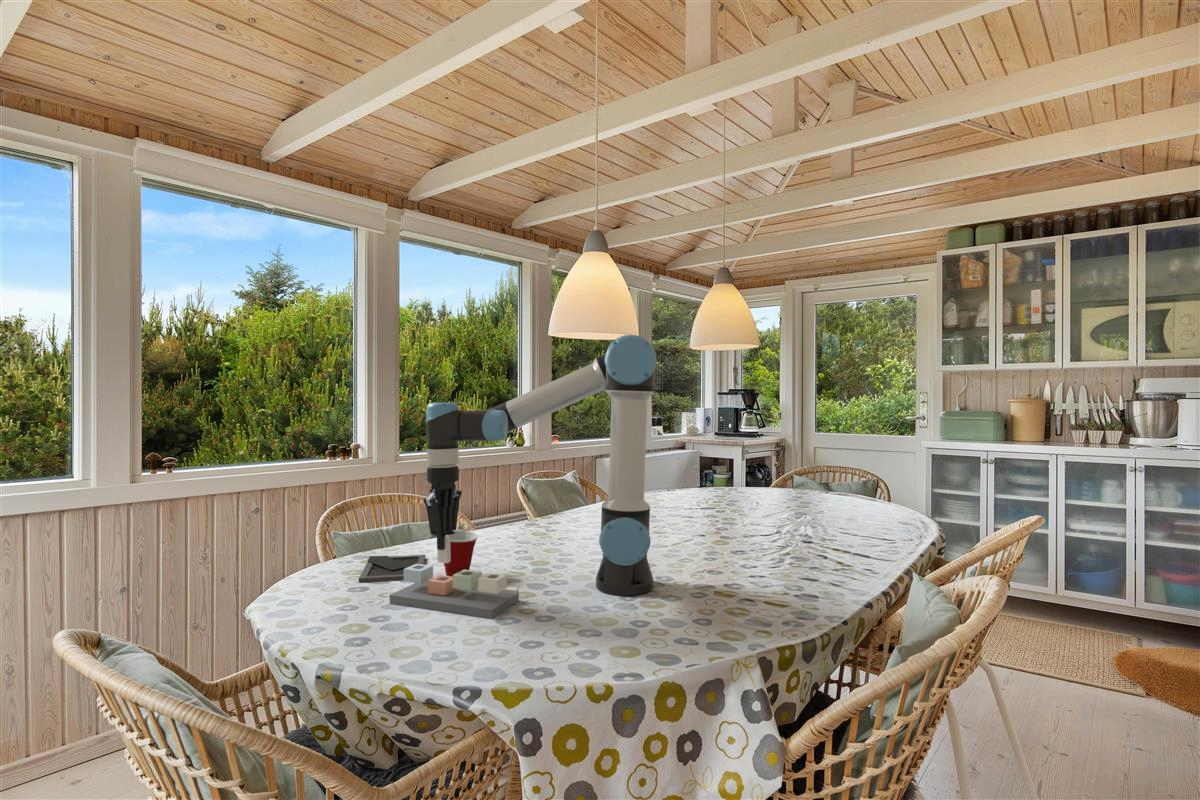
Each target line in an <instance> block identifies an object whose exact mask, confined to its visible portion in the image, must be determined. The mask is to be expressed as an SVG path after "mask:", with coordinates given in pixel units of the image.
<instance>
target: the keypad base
mask: <svg viewBox="0 0 1200 800" xmlns="http://www.w3.org/2000/svg"><path fill="white" fill-rule="evenodd" d="M435 577H436V576H435ZM435 577H434V576H433V578H435ZM433 578H431V579H433ZM429 580H430V579H429ZM519 598H520V588H519V587H512V586H507V588H505V589H504V590H502V591H501V592H499V593H497V594H495V593H488V592H480V591H478V586H477V587H476V588H474V589H472V590H465V589H458V588H457V590H455V591H453V592H451V593H449V594H447V595H446V596H445V595H437V594H430V593H428V580H427V581H425V582H423V583H414V582H413V583H412V584H410V585H408V586H406V587H403V588H402V589H398V590H397V591H395V592H393V593H391V594H389V604H391V603H393V605H398V604H399V605H400V606H404V605H406V606H405V607H411V606H413V607H412V608H418V607H420V608H419V609H424V608H425V609H426V610H431V609H432V610H431V611H437V610H438V611H439V612H444V613H452V614H458V615H464V616H470V617H471V616H473V617H479V618H484V619H485V618H486V619H491V620H492V619H494V618H496V617H497V616H498V615H500V614H501V613H503V612H504V611H506V610H507V609H508V608H510V607H511V606H512V605H514V604H516V603H517V602H518V600H520V599H519ZM515 602H516V603H515ZM502 611H503V612H502ZM499 613H500V614H499Z"/></svg>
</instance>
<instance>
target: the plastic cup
mask: <svg viewBox="0 0 1200 800" xmlns="http://www.w3.org/2000/svg"><path fill="white" fill-rule="evenodd" d="M454 531H455V534H451V546H450V553H451V562H449V563H443V566H444V570H445V576H451V577H453V575H454V574H456V573H458V572H460V571H462V570H470V569H471V565H472V560H473V554H474V549H475V548H474V547H475V545H476V542H477V539H479V535H478V533H475V532H473V531H467V530H454Z"/></svg>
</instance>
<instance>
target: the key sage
mask: <svg viewBox="0 0 1200 800" xmlns="http://www.w3.org/2000/svg"><path fill="white" fill-rule="evenodd" d="M482 573H483V572H482V571H477V570H462V571H460V572H458V573H456V574H454V575H453V588H458V589H465V590H472V589H474V588H476V587H477V586H478V578H480V577H482V576H483V574H482Z"/></svg>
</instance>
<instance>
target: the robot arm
mask: <svg viewBox="0 0 1200 800" xmlns="http://www.w3.org/2000/svg"><path fill="white" fill-rule="evenodd" d="M656 366H657V352H656V351H655V348H654V347H653V344H651V342H650V341H649V340H647V339H646V338H644V337H642V336H640V335H636V334H627V335H626V334H625V335H621V336H619V337H617V338H616V339H614V340H613V341H612V342H611V343H610V344H609V345H608V347H607V349H606V352H605V353H603V354H602V355H599V356H596V357H595V358H594V359H593V362H592V363H590V364H588V365H586V366H584V367H581V368H579V369H577V370H575V371H572V372H571V373H568V374H565V375H563V376H562V377H559V378H557V379H555V380H552V381H550V382H548V383H545V384H544V385H541V386H539V387H536V388H534V389H532V390H530V391H527V392H526V393H524V394H521V395H519V396H517V397H514V398H513V399H511V400H507V401H506V402H503V403H500V404H498V405H496V406H494V407H492V408H489V409H479V410H477V409H476V410H475V409H473V410H461V409H459V405H458V403H457V402H430V403H428V405H427V406H426V417H425V418H426V419H425V425H426V426H425V429H426V432H425V433H426V436H425V437H426V465H428V466H427V468H426V481H427V482H428V483H430V490H429V495H428V497H423V504H424V506H425V507H426V514H427V519H428V526H429V533H430V535H431V536H434V537H436V549H437V563H443V564H444V563H449V562H451V553H450V546H451V534H455V531H457V527H458V526H457V525H458V517H459V516H458V515H459V508H460V507H459V506H460V500H461V497H462V494H463V493H462V490H458V489H457V486H456V484H455V483H456V482H458V481H459V478H460V476H459V475H460V473H459V466H458V464H459V461H460V460H459V442H490V443H491V442H501V441H504V440H505V439H507V436H508V433H509V432H512V431H514V430H516V429H519V428H521V427H522V426H525V425H527V424H530V423H532V422H534V421H537V420H538V419H541V418H543V417H546V416H548V415H550V414H553V413H555V412H557V411H559V410H562V409H563V408H566V407H568V406H570V405H573V404H575V403H578V402H580V401H582V400H584V399H587V398H589V397H591V396H593V395H595V394H598V393H600V392H602V391H605V393H607V395H608V396H609V397H610V400H611V402H610V404H611V406H610V429H609V430H610V433H609V434H610V437H609V462H608V463H609V465H608V467H609V468H608V491H607V493H608V495H607V496H608V497H607V499H605V500H604V502H602V503H601V512H600V513H601V515H600V517H601V521H600V522H601V523H600V533H599V537H598V538H599V539H598V541H599V546H600V550H601V552H602V559H601V561H600V565H599V568H598V570H597V573H596V577H595V587H596V589H597V590H598V591H600V592H602V593H604V594H609V595H614V596H615V595H616V596H637V595H638V594H639V595H644V594H646V592H647V593H649V592H651V591H652V590H653V589H654V577H653V573H652V570H651V569H652V568H651V567H650V563H649V561H648V551H649V549H650V547H651V536H650V520H651V513H650V512H651V506H650V504H649V503H648V502H647V501H646V500H645V478H646V477H645V476H646V449H647V447H646V446H647V445H646V444H647V420H648V419H647V418H648V417H647V416H648V400H649V398H650V397H651V396H652V395H653V394H655V393H654V392H655V369H656ZM650 590H651V591H650ZM648 591H649V592H648ZM643 593H644V594H643Z"/></svg>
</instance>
